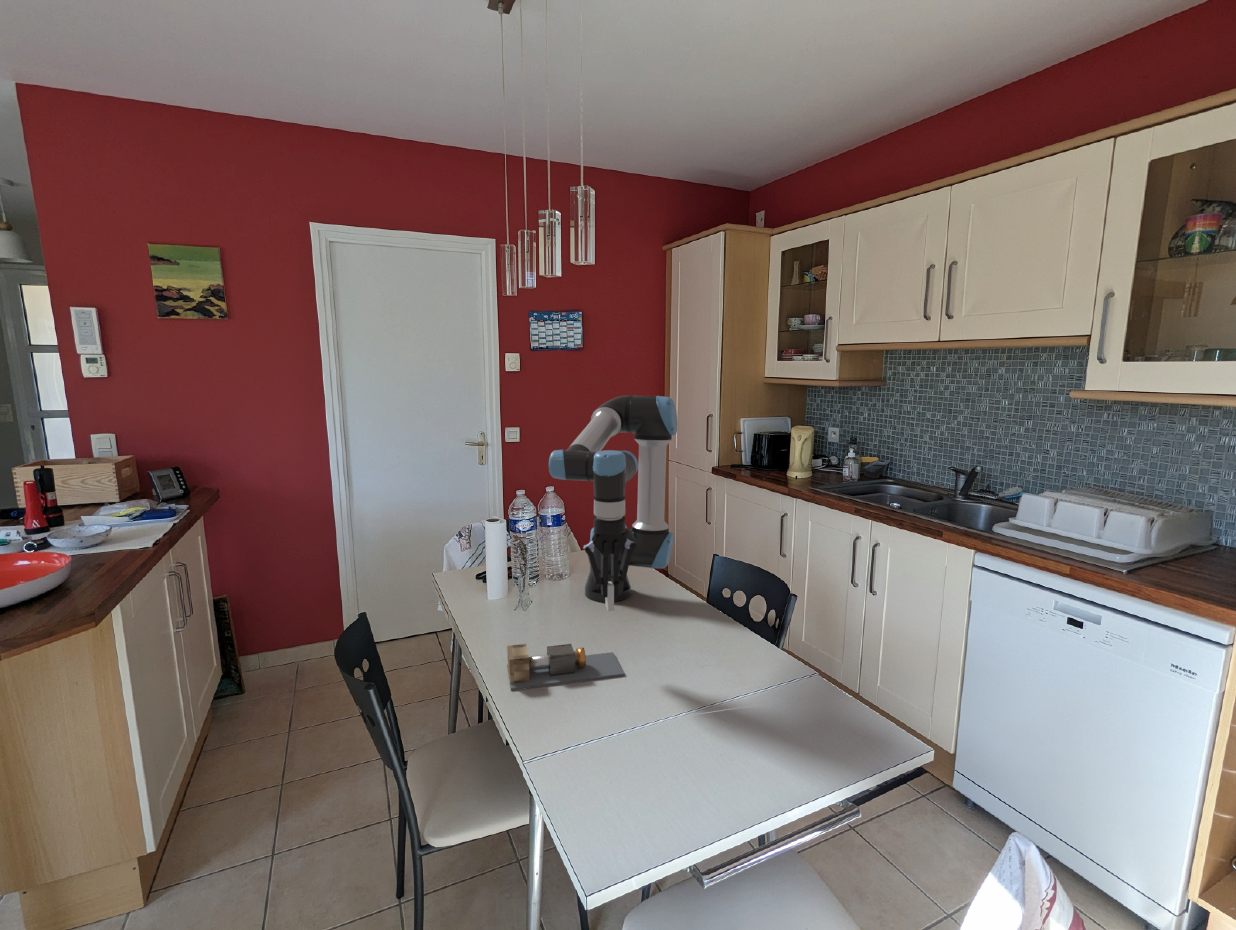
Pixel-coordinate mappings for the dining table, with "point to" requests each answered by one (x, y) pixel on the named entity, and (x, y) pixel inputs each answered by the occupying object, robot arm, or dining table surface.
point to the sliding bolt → (544, 660)
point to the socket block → (518, 663)
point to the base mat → (594, 669)
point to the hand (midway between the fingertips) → (609, 608)
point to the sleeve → (561, 660)
